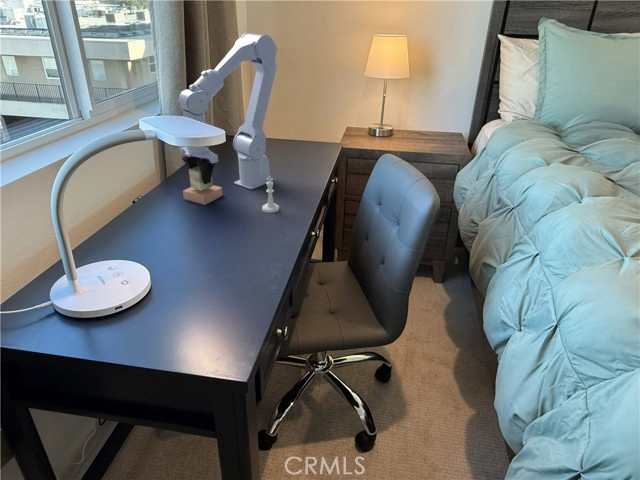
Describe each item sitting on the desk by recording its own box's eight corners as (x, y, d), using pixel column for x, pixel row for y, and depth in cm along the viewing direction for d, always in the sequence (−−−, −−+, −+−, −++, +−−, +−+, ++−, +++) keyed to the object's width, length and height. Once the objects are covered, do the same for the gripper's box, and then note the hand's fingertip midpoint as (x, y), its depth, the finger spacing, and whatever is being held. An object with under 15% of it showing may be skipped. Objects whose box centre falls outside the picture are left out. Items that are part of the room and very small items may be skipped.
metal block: (203, 182, 134) (201, 165, 132) (212, 186, 132) (211, 168, 129) (190, 186, 131) (188, 169, 129) (200, 190, 129) (198, 172, 126)
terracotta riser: (202, 191, 138) (201, 182, 137) (222, 196, 135) (221, 187, 134) (184, 200, 132) (182, 190, 131) (204, 206, 129) (203, 196, 128)
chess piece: (276, 213, 125) (275, 180, 120) (259, 211, 126) (258, 178, 121) (281, 206, 129) (280, 173, 124) (265, 204, 130) (263, 172, 125)
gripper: (168, 133, 125) (174, 178, 132) (201, 143, 118) (206, 191, 124) (188, 128, 130) (194, 172, 137) (222, 137, 123) (226, 183, 129)
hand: (201, 180), depth 131 cm, fingers closed on metal block, 4 cm apart
